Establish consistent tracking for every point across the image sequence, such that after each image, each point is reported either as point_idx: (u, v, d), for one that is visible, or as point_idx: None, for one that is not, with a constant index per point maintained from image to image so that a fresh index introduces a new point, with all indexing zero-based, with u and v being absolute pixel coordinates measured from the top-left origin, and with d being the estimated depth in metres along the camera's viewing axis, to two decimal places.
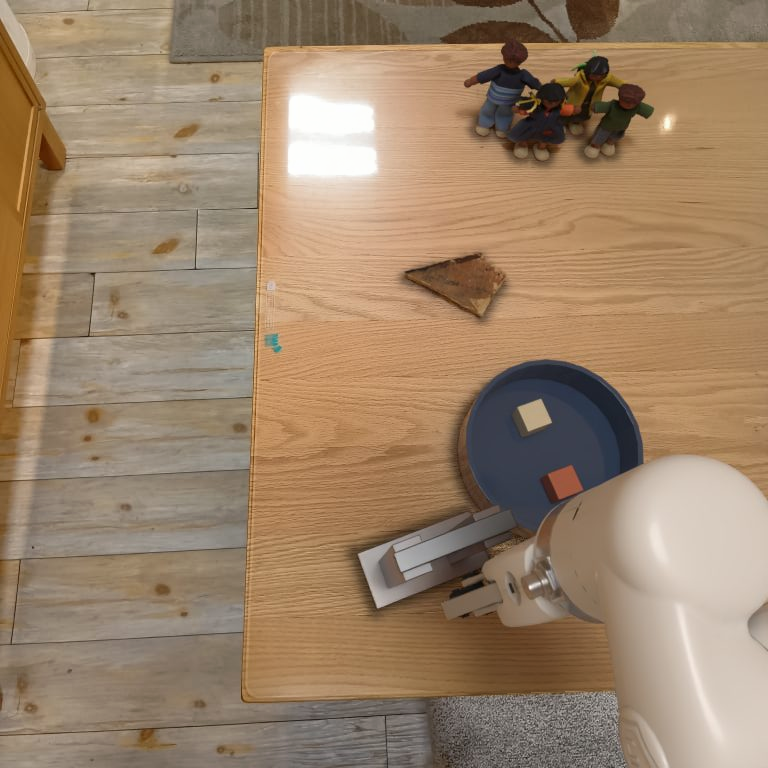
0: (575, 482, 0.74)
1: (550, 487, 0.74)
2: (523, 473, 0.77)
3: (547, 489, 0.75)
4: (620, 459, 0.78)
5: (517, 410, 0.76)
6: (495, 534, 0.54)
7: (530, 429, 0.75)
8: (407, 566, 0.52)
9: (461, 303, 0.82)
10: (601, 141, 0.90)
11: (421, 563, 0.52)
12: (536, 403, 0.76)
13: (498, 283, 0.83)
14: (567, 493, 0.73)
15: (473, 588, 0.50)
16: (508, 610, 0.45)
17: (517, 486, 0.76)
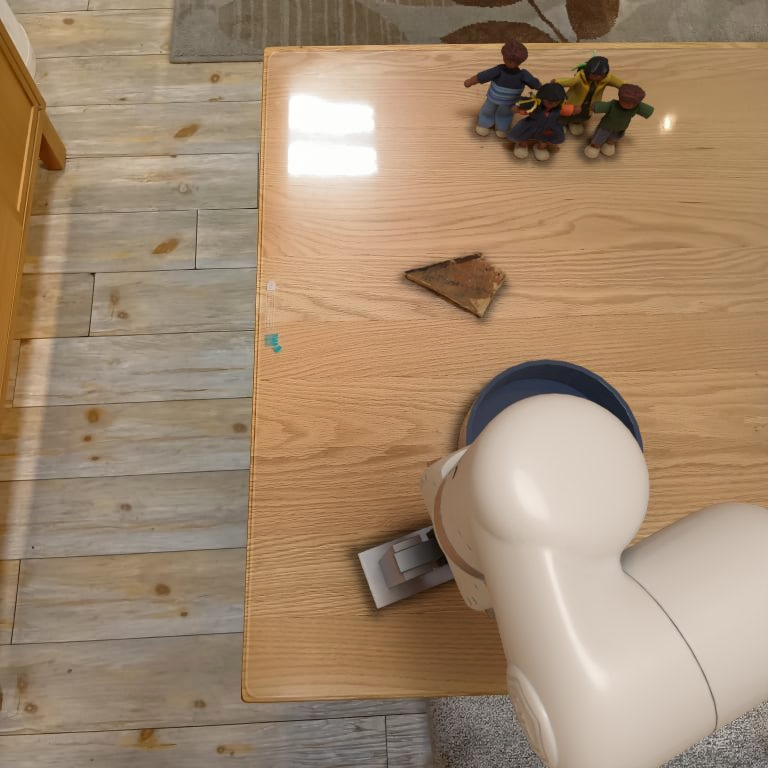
0: None
1: None
2: None
3: None
4: None
5: None
6: None
7: None
8: (407, 566, 0.52)
9: (461, 303, 0.82)
10: (601, 141, 0.90)
11: (421, 563, 0.52)
12: None
13: (498, 283, 0.83)
14: None
15: None
16: None
17: None
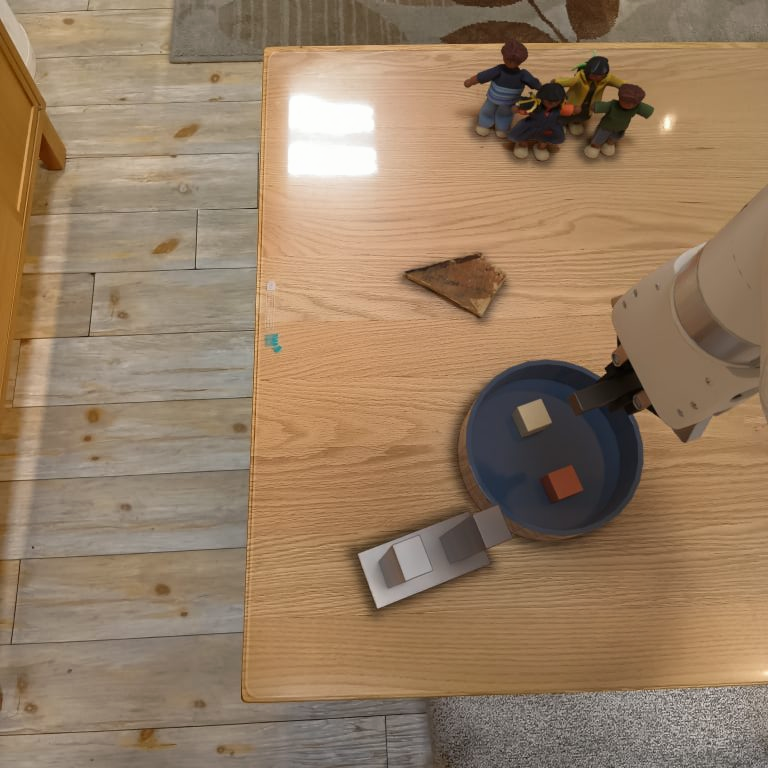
0: (575, 482, 0.74)
1: (550, 487, 0.74)
2: (523, 473, 0.77)
3: (547, 489, 0.75)
4: (620, 459, 0.78)
5: (517, 410, 0.76)
6: None
7: (530, 429, 0.75)
8: (588, 404, 0.53)
9: (461, 303, 0.82)
10: (601, 141, 0.90)
11: (602, 402, 0.53)
12: (536, 403, 0.76)
13: (498, 283, 0.83)
14: (567, 493, 0.73)
15: None
16: None
17: (517, 486, 0.76)
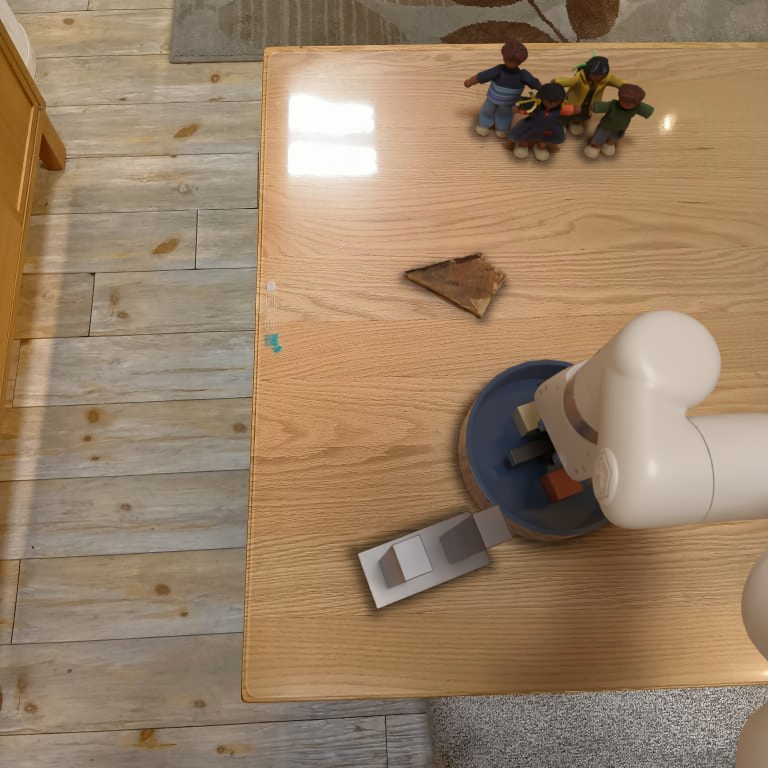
0: (575, 482, 0.74)
1: (550, 487, 0.74)
2: (523, 473, 0.77)
3: (547, 489, 0.75)
4: None
5: (517, 410, 0.76)
6: None
7: (530, 429, 0.75)
8: (520, 459, 0.72)
9: (461, 303, 0.82)
10: (601, 141, 0.90)
11: (530, 457, 0.72)
12: None
13: (498, 283, 0.83)
14: (567, 493, 0.73)
15: None
16: None
17: (517, 486, 0.76)
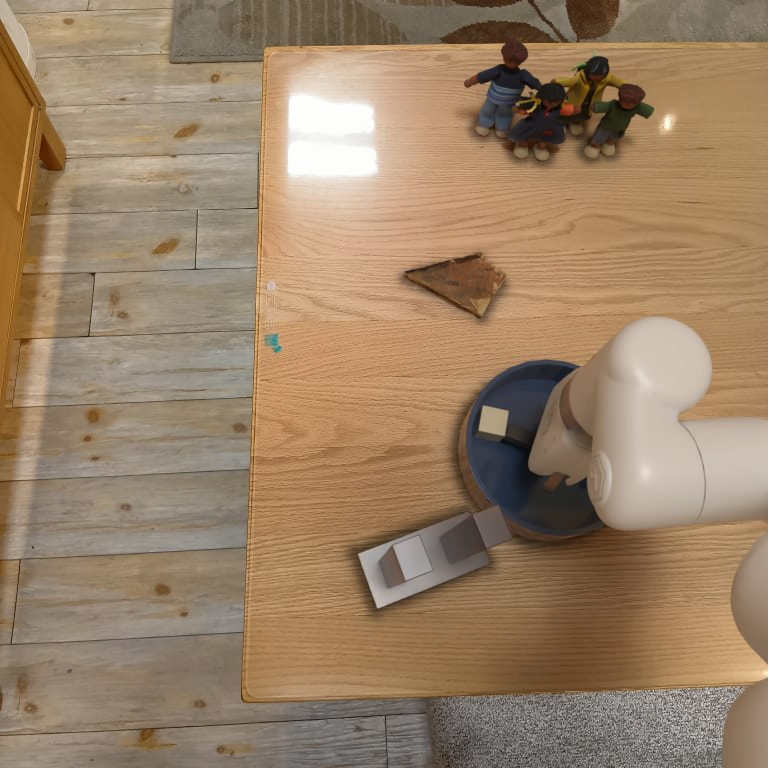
0: None
1: None
2: (523, 473, 0.77)
3: None
4: None
5: (481, 408, 0.76)
6: (527, 430, 0.74)
7: (481, 430, 0.75)
8: None
9: (461, 303, 0.82)
10: (601, 141, 0.90)
11: None
12: (501, 412, 0.76)
13: (498, 283, 0.83)
14: None
15: None
16: None
17: (517, 486, 0.76)
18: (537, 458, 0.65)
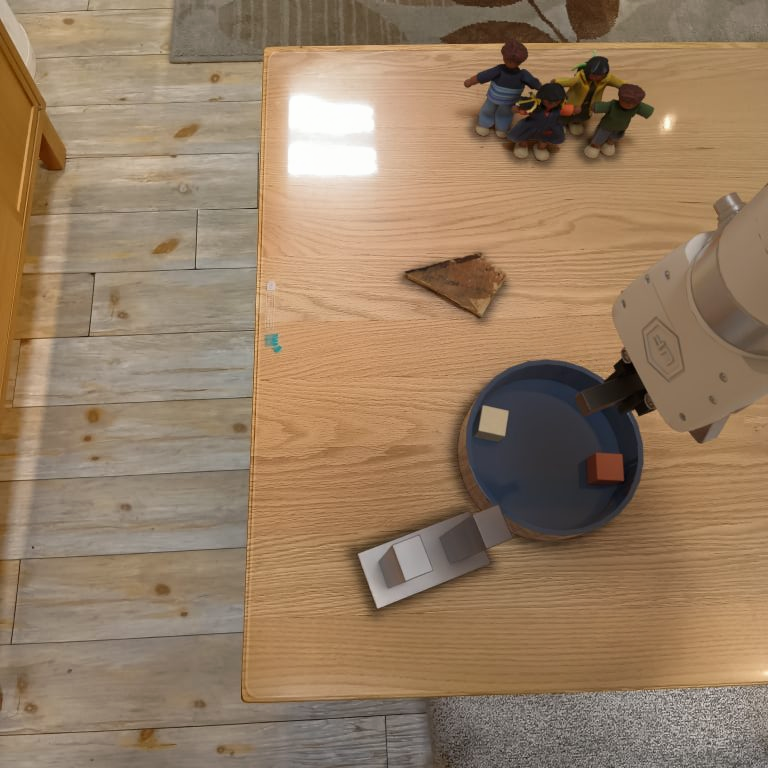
0: (619, 470, 0.74)
1: (593, 466, 0.75)
2: (523, 473, 0.77)
3: (589, 468, 0.76)
4: None
5: (481, 408, 0.76)
6: (604, 384, 0.50)
7: (481, 430, 0.75)
8: None
9: (461, 303, 0.82)
10: (601, 141, 0.90)
11: None
12: (501, 412, 0.76)
13: (498, 283, 0.83)
14: (607, 476, 0.74)
15: None
16: None
17: (517, 486, 0.76)
18: (694, 413, 0.42)
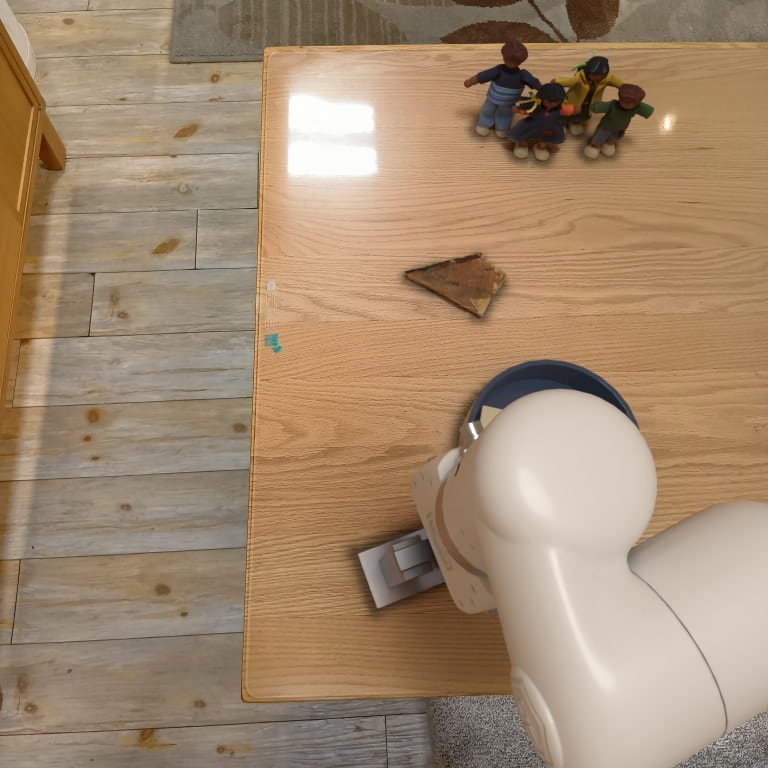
0: None
1: None
2: None
3: None
4: None
5: (481, 408, 0.76)
6: (417, 544, 0.52)
7: None
8: None
9: (461, 303, 0.82)
10: (601, 141, 0.90)
11: None
12: None
13: (498, 283, 0.83)
14: None
15: None
16: None
17: None
18: (466, 605, 0.44)
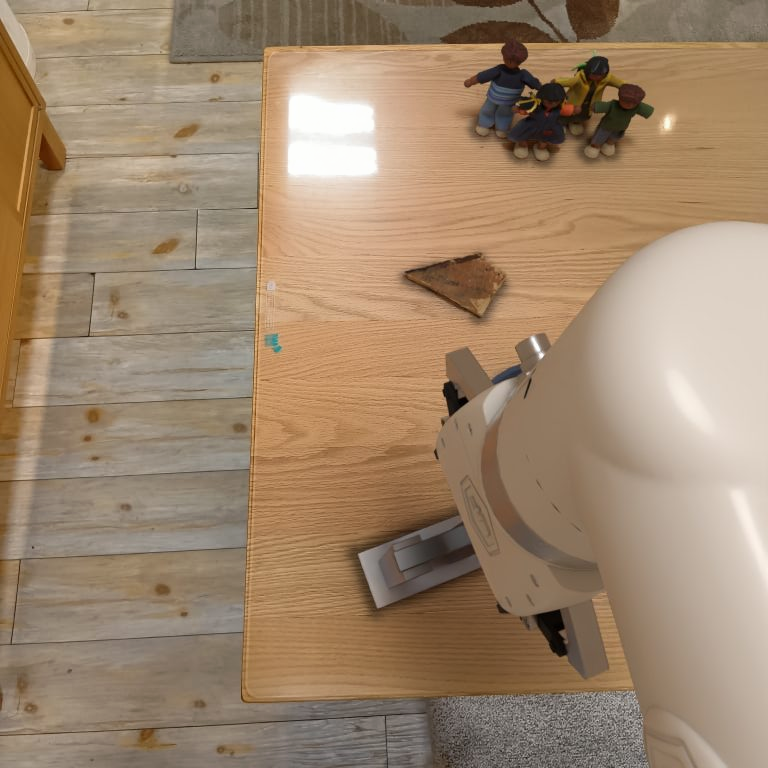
0: None
1: None
2: None
3: None
4: None
5: None
6: (416, 544, 0.53)
7: None
8: None
9: (461, 303, 0.82)
10: (601, 141, 0.90)
11: None
12: None
13: (498, 283, 0.83)
14: None
15: None
16: None
17: None
18: (518, 605, 0.31)
